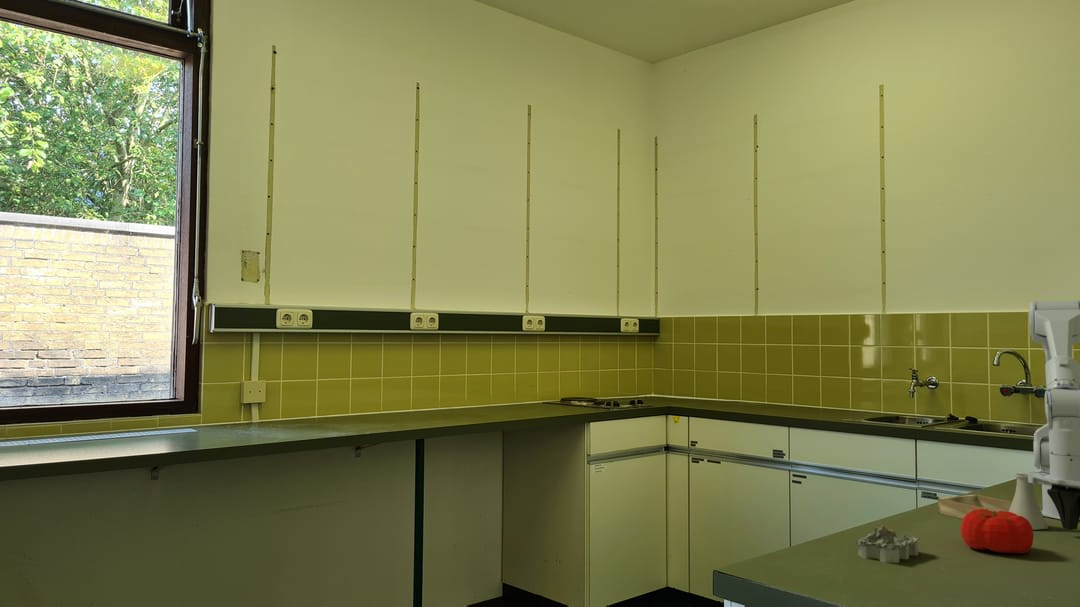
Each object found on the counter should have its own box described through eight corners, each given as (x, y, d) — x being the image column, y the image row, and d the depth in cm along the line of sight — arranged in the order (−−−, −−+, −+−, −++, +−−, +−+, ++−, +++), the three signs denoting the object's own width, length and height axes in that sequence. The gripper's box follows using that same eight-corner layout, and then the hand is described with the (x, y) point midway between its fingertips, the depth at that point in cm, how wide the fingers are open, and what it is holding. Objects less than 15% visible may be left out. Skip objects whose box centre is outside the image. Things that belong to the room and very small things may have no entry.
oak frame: (976, 508, 172) (975, 494, 172) (1025, 519, 161) (1024, 504, 162) (937, 513, 167) (937, 498, 168) (985, 524, 157) (985, 508, 157)
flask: (1035, 522, 159) (1033, 471, 159) (1056, 531, 151) (1054, 478, 152) (997, 522, 159) (995, 471, 160) (1016, 530, 152) (1014, 477, 152)
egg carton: (883, 547, 141) (883, 523, 142) (926, 556, 136) (925, 531, 136) (850, 557, 135) (849, 532, 135) (892, 566, 129) (892, 540, 129)
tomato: (960, 540, 145) (959, 504, 145) (1031, 547, 140) (1029, 509, 140) (962, 553, 136) (960, 514, 136) (1037, 561, 131) (1036, 521, 131)
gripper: (1015, 450, 153) (1018, 522, 153) (1093, 460, 140) (1096, 539, 139) (1041, 448, 156) (1043, 518, 155) (1119, 458, 143) (1122, 535, 142)
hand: (1070, 528), depth 147 cm, fingers closed
